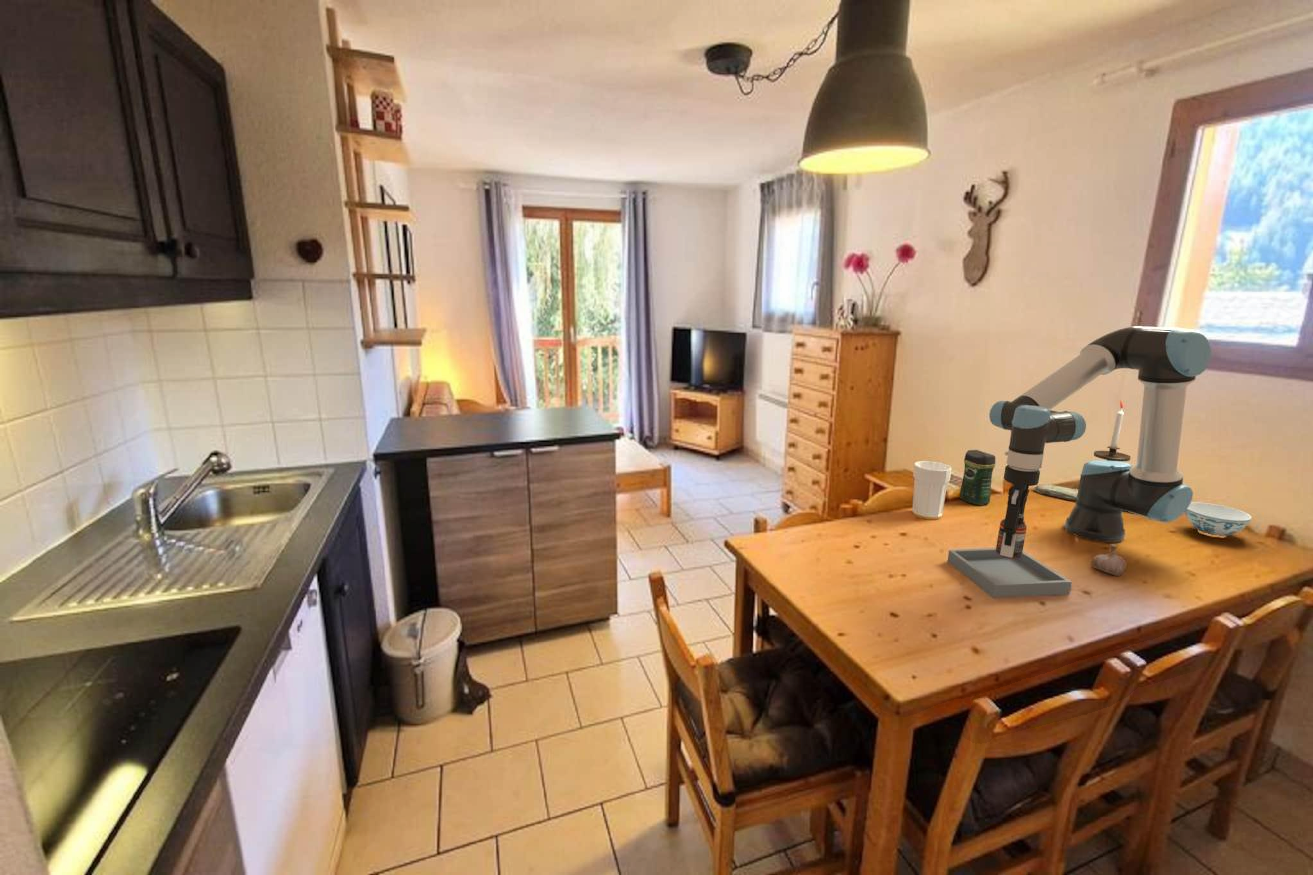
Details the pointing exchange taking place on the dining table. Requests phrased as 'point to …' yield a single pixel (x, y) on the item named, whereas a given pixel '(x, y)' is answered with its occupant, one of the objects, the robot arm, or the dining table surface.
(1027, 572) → the tray
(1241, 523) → the chinaware
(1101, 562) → the garlic bulb
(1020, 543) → the supplement bottle
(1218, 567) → the dining table surface
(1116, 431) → the candlestick
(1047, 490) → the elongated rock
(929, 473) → the cup
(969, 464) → the coffee jar
